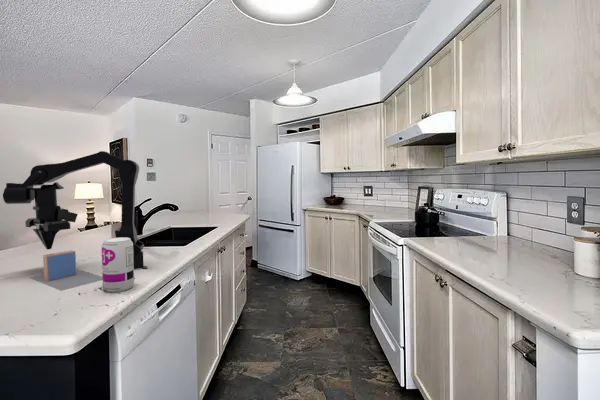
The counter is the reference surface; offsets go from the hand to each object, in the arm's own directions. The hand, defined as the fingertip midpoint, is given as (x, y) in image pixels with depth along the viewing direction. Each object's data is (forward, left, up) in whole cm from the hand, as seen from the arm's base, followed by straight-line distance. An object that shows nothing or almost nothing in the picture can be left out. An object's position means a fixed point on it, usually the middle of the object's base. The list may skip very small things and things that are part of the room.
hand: (48, 249), depth 106 cm
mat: (-11, -1, -9) cm, 15 cm away
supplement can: (-31, -6, -9) cm, 33 cm away
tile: (-8, 0, -8) cm, 12 cm away
